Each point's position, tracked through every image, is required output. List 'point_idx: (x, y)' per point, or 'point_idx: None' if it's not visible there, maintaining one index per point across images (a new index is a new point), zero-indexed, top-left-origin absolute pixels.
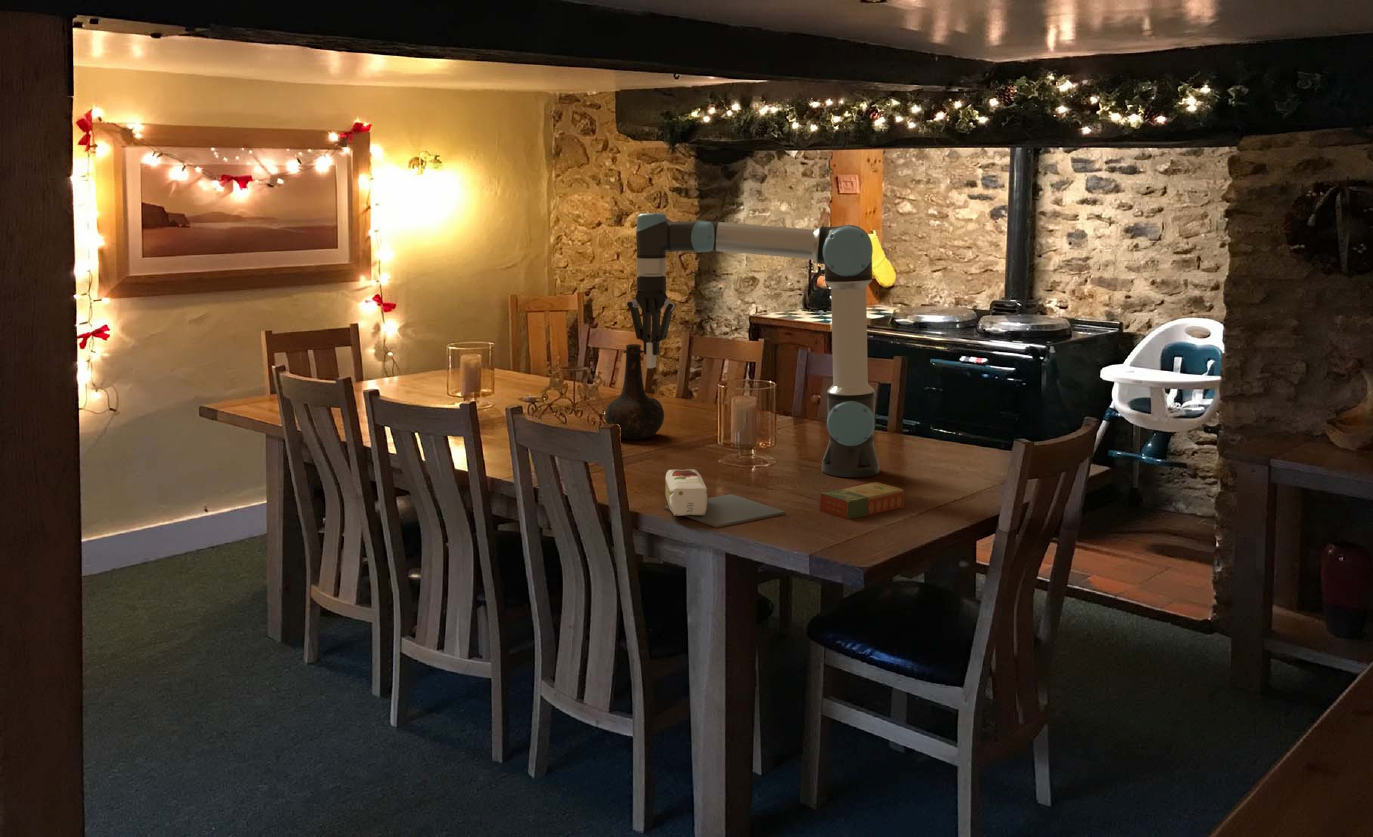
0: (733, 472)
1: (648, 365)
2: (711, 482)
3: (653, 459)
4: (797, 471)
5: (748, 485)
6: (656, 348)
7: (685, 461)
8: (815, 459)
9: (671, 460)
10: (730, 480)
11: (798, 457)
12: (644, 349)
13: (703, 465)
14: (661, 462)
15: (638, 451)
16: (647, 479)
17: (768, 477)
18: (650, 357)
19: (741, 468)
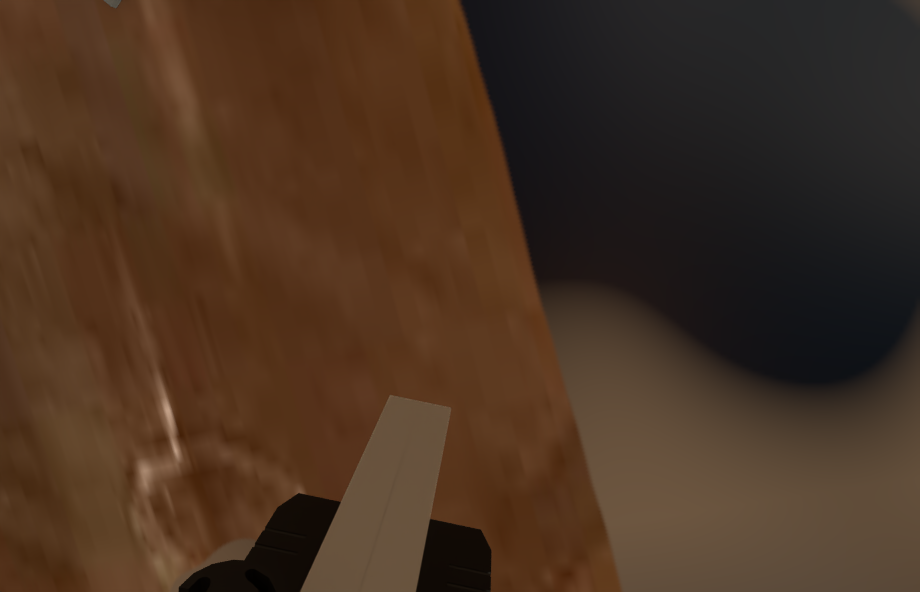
0: (214, 356)
1: (425, 416)
2: (241, 198)
3: (521, 482)
4: (30, 411)
5: (112, 186)
6: (257, 556)
7: None
8: (31, 571)
9: (458, 479)
10: (189, 243)
11: (86, 587)
12: (474, 580)
13: (335, 431)
14: (484, 446)
15: (600, 582)
16: (468, 189)
17: (87, 312)
18: (382, 460)
19: (206, 415)
